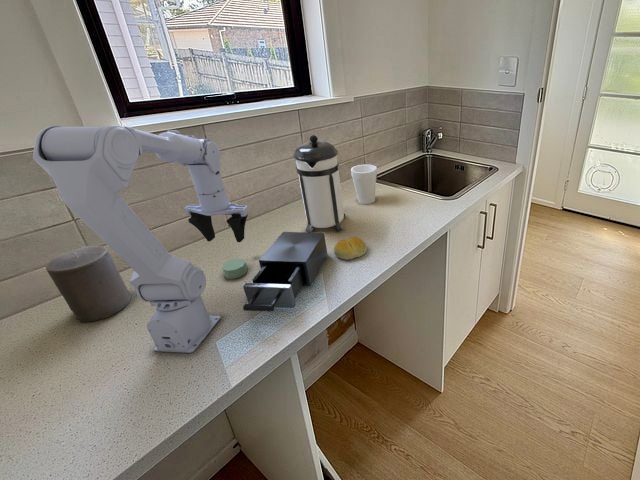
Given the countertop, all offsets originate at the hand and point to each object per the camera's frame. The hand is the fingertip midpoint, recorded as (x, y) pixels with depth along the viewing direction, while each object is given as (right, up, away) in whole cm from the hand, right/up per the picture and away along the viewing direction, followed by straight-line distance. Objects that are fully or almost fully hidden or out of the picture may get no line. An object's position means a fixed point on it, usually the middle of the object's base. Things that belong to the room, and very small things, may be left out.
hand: (226, 239), depth 84 cm
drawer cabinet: (+16, -9, +5) cm, 19 cm away
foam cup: (+27, +11, +45) cm, 53 cm away
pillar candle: (-24, -15, -7) cm, 29 cm away
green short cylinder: (0, -9, +4) cm, 10 cm away
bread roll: (+29, -5, +13) cm, 32 cm away
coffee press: (+16, +3, +29) cm, 33 cm away
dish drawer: (+15, -13, -5) cm, 21 cm away
